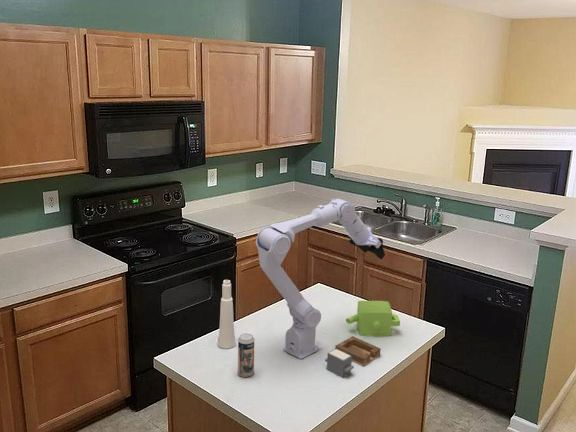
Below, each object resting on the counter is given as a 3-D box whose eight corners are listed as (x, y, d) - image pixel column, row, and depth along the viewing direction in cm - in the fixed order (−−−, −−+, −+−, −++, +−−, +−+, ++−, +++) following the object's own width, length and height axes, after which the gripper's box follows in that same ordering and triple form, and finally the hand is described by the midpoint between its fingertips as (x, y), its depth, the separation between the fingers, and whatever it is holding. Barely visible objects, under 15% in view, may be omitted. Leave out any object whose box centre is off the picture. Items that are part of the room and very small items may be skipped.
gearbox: (346, 339, 182) (348, 314, 179) (343, 324, 191) (345, 300, 188) (400, 339, 182) (402, 314, 179) (394, 324, 191) (396, 300, 188)
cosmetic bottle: (237, 340, 177) (237, 277, 171) (234, 349, 171) (234, 285, 165) (219, 339, 177) (219, 276, 172) (215, 348, 172) (215, 284, 166)
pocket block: (363, 366, 164) (363, 358, 163) (334, 352, 171) (335, 345, 171) (380, 355, 170) (380, 348, 170) (352, 343, 178) (352, 336, 177)
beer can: (240, 379, 155) (241, 342, 152) (235, 371, 159) (235, 334, 156) (256, 376, 157) (257, 339, 154) (250, 367, 161) (251, 331, 158)
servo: (345, 379, 157) (346, 362, 156) (323, 368, 163) (324, 351, 161) (354, 374, 160) (355, 357, 158) (332, 363, 165) (333, 346, 164)
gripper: (378, 224, 167) (397, 250, 175) (348, 213, 179) (367, 238, 186) (364, 241, 166) (384, 267, 173) (335, 229, 177) (355, 254, 185)
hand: (374, 253), depth 180 cm, fingers open, 7 cm apart
